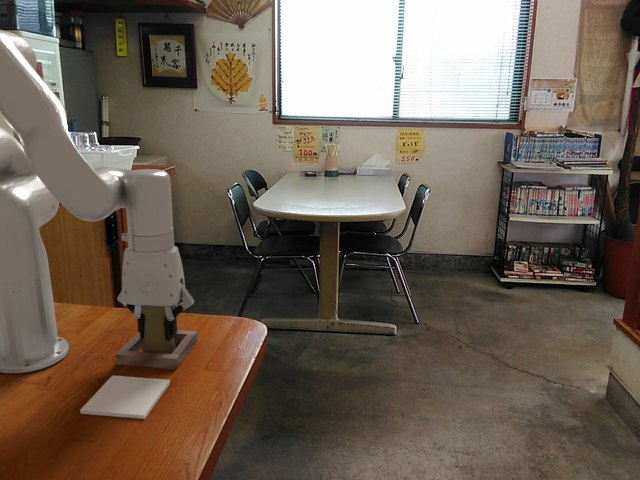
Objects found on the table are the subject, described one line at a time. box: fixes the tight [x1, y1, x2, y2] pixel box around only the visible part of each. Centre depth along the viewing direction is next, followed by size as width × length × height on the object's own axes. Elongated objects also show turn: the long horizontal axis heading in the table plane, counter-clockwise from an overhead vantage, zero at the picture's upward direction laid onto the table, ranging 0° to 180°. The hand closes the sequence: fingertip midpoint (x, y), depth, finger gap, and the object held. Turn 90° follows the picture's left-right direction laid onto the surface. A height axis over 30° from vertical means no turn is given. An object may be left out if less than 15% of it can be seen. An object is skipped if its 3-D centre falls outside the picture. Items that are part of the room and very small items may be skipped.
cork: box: [141, 306, 177, 354], centre depth 96 cm, size 6×6×11 cm
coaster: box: [79, 375, 171, 420], centre depth 83 cm, size 10×10×1 cm
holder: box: [115, 329, 199, 370], centre depth 98 cm, size 11×11×2 cm
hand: (158, 335), depth 97 cm, fingers closed on cork, 4 cm apart
